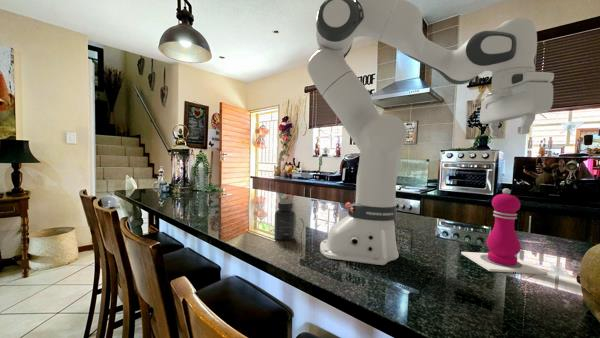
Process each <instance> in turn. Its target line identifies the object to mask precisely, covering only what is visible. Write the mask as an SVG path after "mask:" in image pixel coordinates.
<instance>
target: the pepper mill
mask: <svg viewBox="0 0 600 338" xmlns="http://www.w3.org/2000/svg"><path fill="white" fill-rule="evenodd" d="M511 192H512V191H511V189H509V188H506V187H505V188H503V189H502V193H500V194H496V195H495V196H494V197H493V198H492V200H491V206H492V207H493V209H494V210H493V214H492V215H493V216H494V224H493V228H492V229H491V231H490V233H489V235H487V238H486V242H485V244H486V246H487V248H488V250H489V251H488V252H487V253H488V259H489V260H490V261H492V262H495V263H498V264H502V265H507V266H515V265H517V258H518V257H517V256H516V255H518V254H519V253H520V252H521V243H520V240H519V238H518V236H517V234H516V230H515V221H516V220H517V219H518V217H517V216H518V213H516V212H518V211H519V210H520V208H521V202H520V201H521V200H520V199H519V198H518V197H517V196H515V195H512V194H511Z"/></svg>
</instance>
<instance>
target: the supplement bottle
mask: <svg viewBox="0 0 600 338" xmlns="http://www.w3.org/2000/svg"><path fill="white" fill-rule="evenodd" d="M293 209H294V206H293V202H292V201H279V202H278V205H277V210H275V212H274V231H273V232H274V234H273V235H274V239H275V240H277V241H280V242H288V241H290V242H291V241H292V240H293V239H295V235H296V213H295V211H294V210H293Z"/></svg>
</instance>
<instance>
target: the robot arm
mask: <svg viewBox="0 0 600 338" xmlns="http://www.w3.org/2000/svg"><path fill="white" fill-rule="evenodd" d="M315 25H316V30H315V31H316V33H315V34H316V41H317V49H318V50H316V51H315V53H313V54H312V56H311V57H310V58H309V60H308V62H307V72H308V75H309V77H310V78H311V81H312V83H313V84H314V86H315V88H316V89H317V91H318V93H319V95H321V97H322V98H323V99H324V101H325V102H326V103H327V105H328V106H329V107H330V109H331V110H332V112H333V113H334V114H335V115H336V116H337V118H338V119H339V121H340V123H341V124H342V126H343V128H344V129H345V131H346V132H347V134H348V135H349V136H350V139H351V140H352V141H353V143H354V144H355V146H356V147H357V149H358V150H359V158H358V159H359V161H358V165H357V166H358V167H357V174H356V185H355V202H353V203H351V202H346V203H345V206H344V207H345V209H347V215H346V216H345V217H343V218H342V219H341V220H339V221H338V222H336V223H334V224H332V225H331V227H330V229H329V232H328V235H327V238H325V239H324V240H321V242H320V244H319V251H320V254H322V255H323V256H324V257H325V258H327V259H333V260H340V261H341V260H342V261H347V262H354V263H355V262H356V263H361V264H369V265H370V264H371V265H380V266H385V265H386V264H387V263H389V262H391V261H394V260H397V259H398V258H399V255H400V254H399V250H398V248H397V247H398V246H397V240H396V229H395V228H396V227H395V226H396V223H397V216H398V215H397V206H396V195H397V194H396V193H397V181H398V180H397V179H398V173H399V168H400V163H401V160H402V159H401V158H402V155H403V148H404V144H405V143H406V139H407V137H408V135H407V134H408V133H407V126H406V124H405V123H404V121H403V120H402V119H400V118H399V117H398V116H395V115H392V114H387V113H386V114H380V113H379V111H378V109H377V107H376V105H375V103H374V101H373V98H372V95H371V93H370V92H369V89H367V87H366V86H365V85H364V83H363V82H362V81H361V80H360V78H359V77H358V75H356V73H355V72H354V69H352V68H351V67H350V66H349V64H348V63H347V60H346V59H345V58H346V57H347V56H348V54H349V52H350V51H351V49H352V45H353V41H354V39H355V38H358V37H367V38H371V39H373V40H375V41H378V42H380V43H383V44H384V45H385V44H386V45H388V46H390V47H393V48H395V49H396V50H398V51H399V52H400V53H402V54H403V55H404V56H407V57H408V58H410V59H412V60H414V61H417V62H418V63H420V64H422V65H424V66H427V67H429V68H430V69H432V70H434V71H436V72H437V73H439V74H440V75H441V76H442V77H443V78H444V80H446V81H447V82H448V83H451V84H453V85H459V86H460V85H464V84H467V83H469V82H471V81H473V80H474V79H475V78H476V77H478V76H479V75H481V74H482V73H484V72H491V75H492V76H491V92H489V93H487V95H486V96H485V97H484V99H483V100H482V102H481V107H480V111H479V122H480V124H484V125H487V124H488V127H489V131H490V132H491V134H490V137H491V138H494V139H495V138H496V139H498V138H501V137H502V131H500V129H499V126H500V123H501V122H508V121H512V120H516V119H520V118H521V120H522V122H521V124H520V126H518V127H517V134H518V135H528V134H530V129H531V126H532V125H533V123H534V122H535V119H536V115H539V114H540V115H541V114H544V113H549V111H550V110H551V108H552V107H553V104H554V85H553V83H552V82H553V81H554V78H555V73H554V72H547V71H546V72H545V71H536V65H535V63H534V62H535V57H536V55H537V47H538V33H537V27H536V24H535V22H533V20H531V19H529V18H525V17H517V18H511V19H508V20H505V21H503V22H502V23H501V24H500V25H498V26H496V27H494V28H492V29H489V30H482V31H480V32H477V33H475V34H473V35H472V36H471V37H469V39H467V40H466V41H465V42H463V44H462V45H461V46H459V48H457V49H452V50H451V49H447V48H446V47H443V46H442V45H439V44H438V43H435V42H433V41H431V40H429V39H428V38H427V37H426V36H425V34H424V32H423V17H422V12H421V10H420V9H419V7H418V6H417V5H415V4H414V3H412V2H411V1H408V0H324V1H323V2H322V4H321V5H320V7H319V8H318V11H317V14H316V18H315Z"/></svg>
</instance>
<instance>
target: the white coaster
mask: <svg viewBox="0 0 600 338" xmlns="http://www.w3.org/2000/svg"><path fill="white" fill-rule="evenodd" d="M460 254H461V255H463V256H464V257H465V258H468V259H469V260H470V261H472V262H474V263H476V265H478V266H480V267H482V268H484V269H485V270H487V271H488V272H495V273H496V272H497V273H513V272H514V273H515V272H516V273H517V274H533V275H534V274H535V275H548V271H546V270H544V269H542V268H540V267H538V266H535V265H533V264H531V263H529V262H527V261H525V260H522V259H520V258H519V257H517V265H515V266H507V265H502V264H498V263H495V262H492V261H490V260H489V259H488V252H473V251H471V252H470V251H461V252H460ZM514 273H513V274H514Z"/></svg>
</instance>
